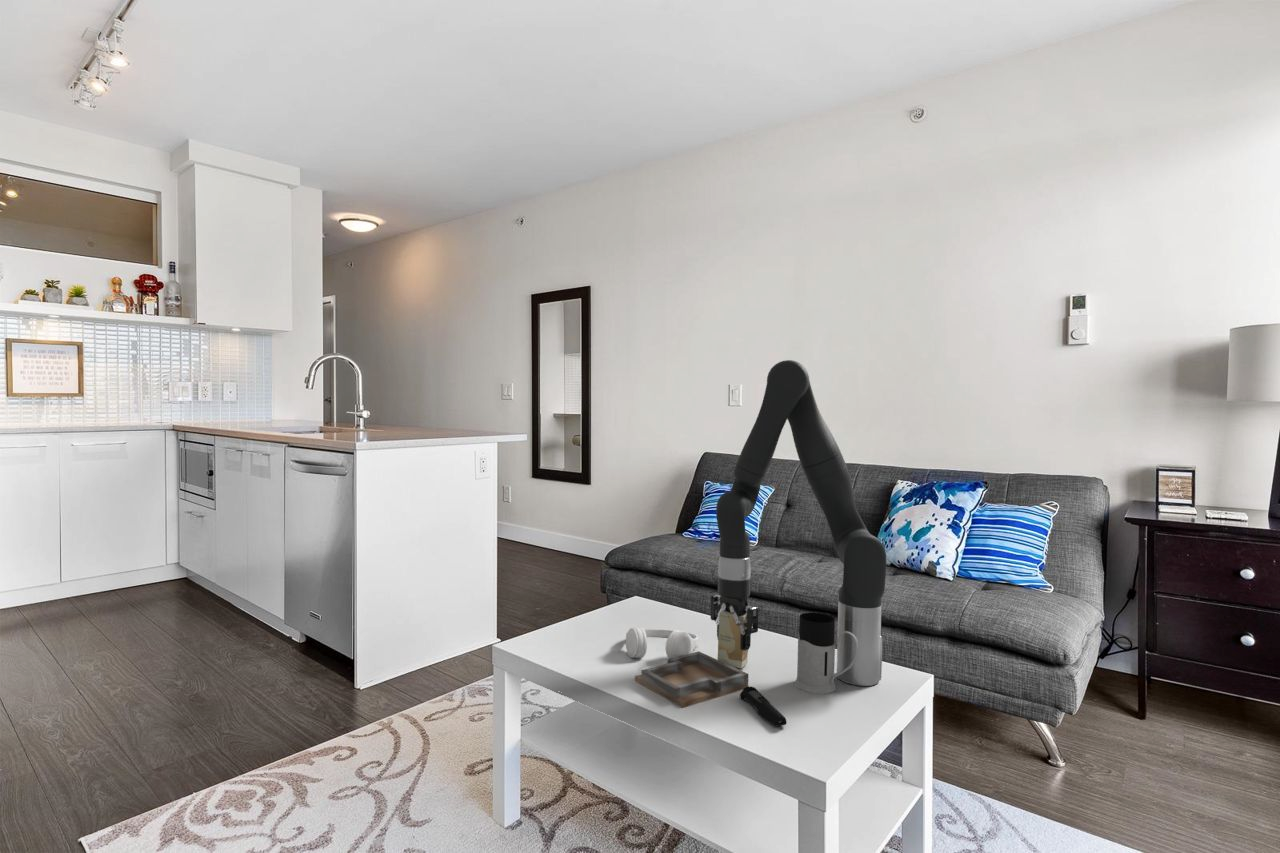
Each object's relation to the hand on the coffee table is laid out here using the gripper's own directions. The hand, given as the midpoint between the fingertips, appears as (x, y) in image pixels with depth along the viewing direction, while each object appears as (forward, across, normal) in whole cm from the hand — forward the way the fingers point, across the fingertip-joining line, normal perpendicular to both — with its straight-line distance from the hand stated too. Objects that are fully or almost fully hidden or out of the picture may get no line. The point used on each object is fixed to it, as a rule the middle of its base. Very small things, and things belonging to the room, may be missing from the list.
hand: (733, 644), depth 157 cm
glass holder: (+5, -21, -8) cm, 23 cm away
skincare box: (+5, 0, 0) cm, 5 cm away
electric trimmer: (+6, -21, +12) cm, 25 cm away
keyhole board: (+5, -3, +15) cm, 16 cm away
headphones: (+5, +18, +8) cm, 20 cm away
